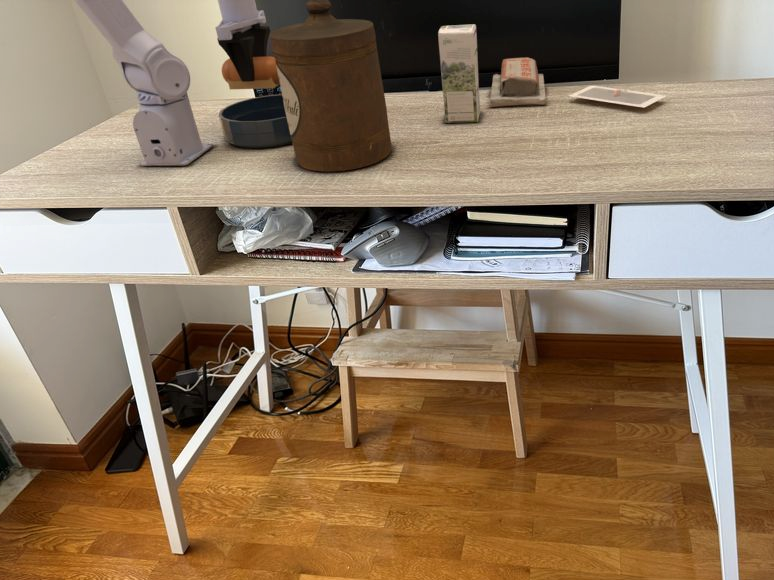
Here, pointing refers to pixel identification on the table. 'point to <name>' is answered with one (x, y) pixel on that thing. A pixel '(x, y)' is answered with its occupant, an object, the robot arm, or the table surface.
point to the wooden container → (332, 91)
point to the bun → (263, 74)
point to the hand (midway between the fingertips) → (254, 77)
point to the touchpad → (618, 96)
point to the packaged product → (518, 84)
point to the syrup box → (459, 73)
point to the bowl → (256, 122)
